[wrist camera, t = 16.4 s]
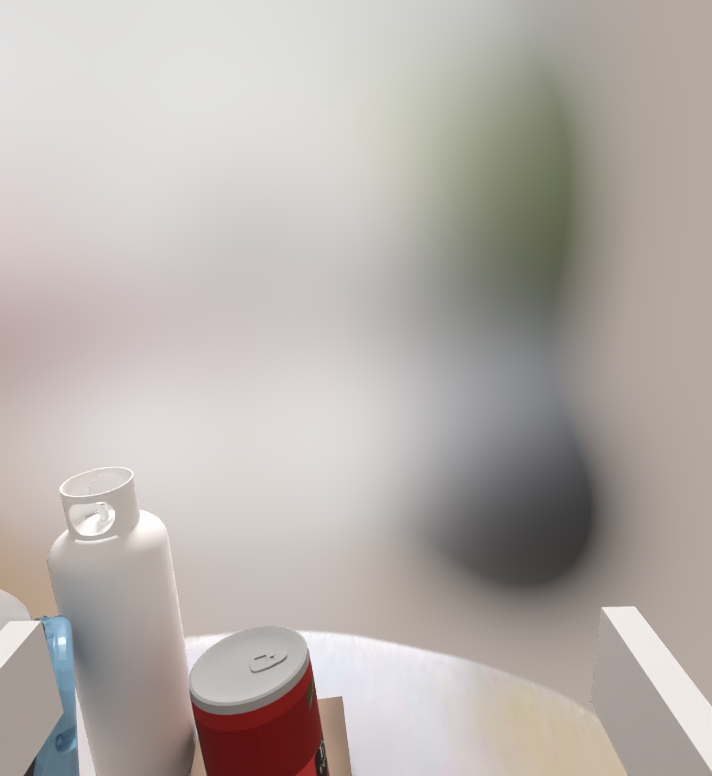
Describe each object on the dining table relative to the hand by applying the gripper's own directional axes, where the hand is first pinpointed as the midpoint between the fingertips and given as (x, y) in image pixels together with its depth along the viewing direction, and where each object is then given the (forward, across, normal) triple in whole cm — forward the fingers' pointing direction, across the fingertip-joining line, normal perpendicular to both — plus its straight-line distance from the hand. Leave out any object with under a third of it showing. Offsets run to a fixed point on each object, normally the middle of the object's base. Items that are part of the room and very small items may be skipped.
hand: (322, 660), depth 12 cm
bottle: (+23, -18, -34) cm, 45 cm away
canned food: (+16, -6, -28) cm, 33 cm away
